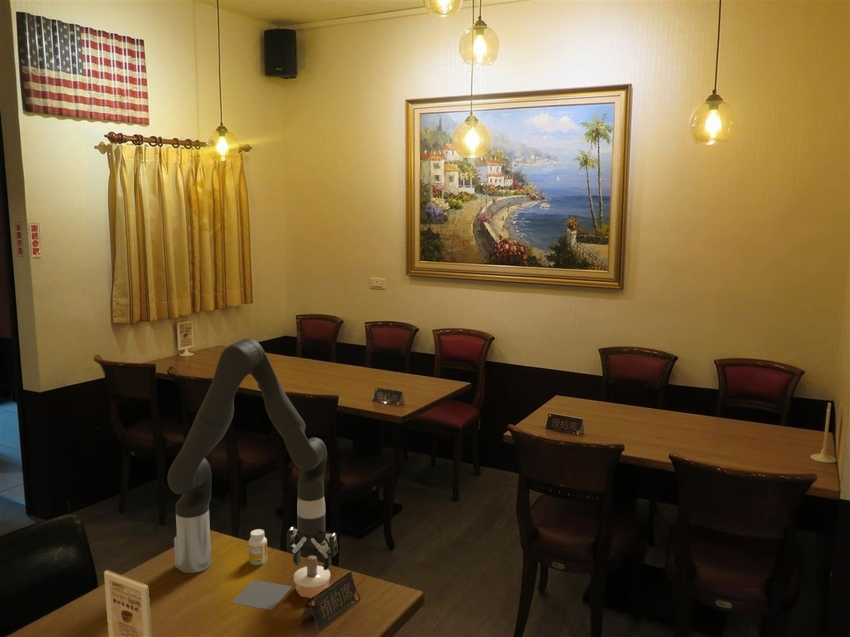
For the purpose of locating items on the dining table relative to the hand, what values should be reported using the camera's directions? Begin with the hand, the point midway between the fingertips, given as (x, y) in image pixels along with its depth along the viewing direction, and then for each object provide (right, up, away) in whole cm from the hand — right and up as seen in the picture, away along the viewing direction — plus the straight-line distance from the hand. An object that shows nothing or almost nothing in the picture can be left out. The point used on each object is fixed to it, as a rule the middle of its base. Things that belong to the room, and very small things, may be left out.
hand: (312, 566), depth 192 cm
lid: (0, -3, 0) cm, 3 cm away
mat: (-13, -8, -2) cm, 15 cm away
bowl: (0, -7, +1) cm, 7 cm away
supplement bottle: (-19, -5, +16) cm, 25 cm away
